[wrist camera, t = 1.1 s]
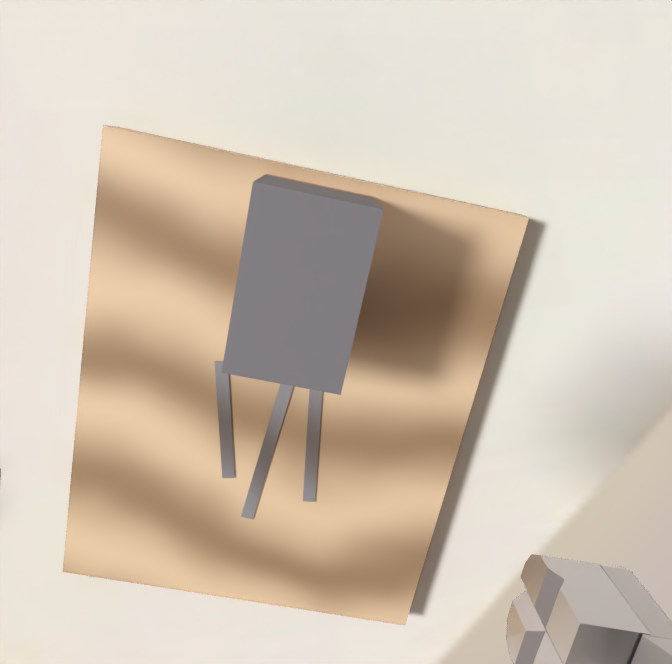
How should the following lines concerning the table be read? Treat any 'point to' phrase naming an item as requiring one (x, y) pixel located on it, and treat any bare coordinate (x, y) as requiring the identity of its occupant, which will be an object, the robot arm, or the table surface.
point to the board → (270, 392)
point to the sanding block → (300, 283)
